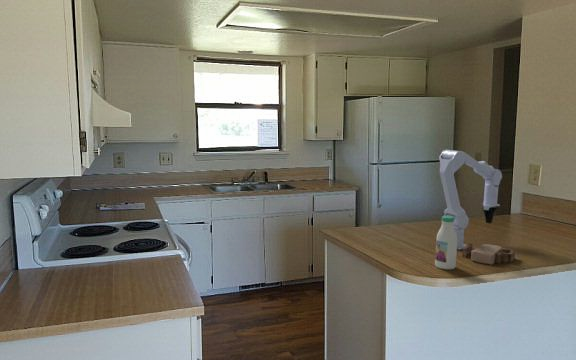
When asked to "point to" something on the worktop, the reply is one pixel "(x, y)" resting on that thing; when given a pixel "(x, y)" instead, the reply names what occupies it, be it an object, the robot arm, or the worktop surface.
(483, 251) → the brick
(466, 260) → the worktop surface
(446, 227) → the milk bottle
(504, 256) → the tunnel
